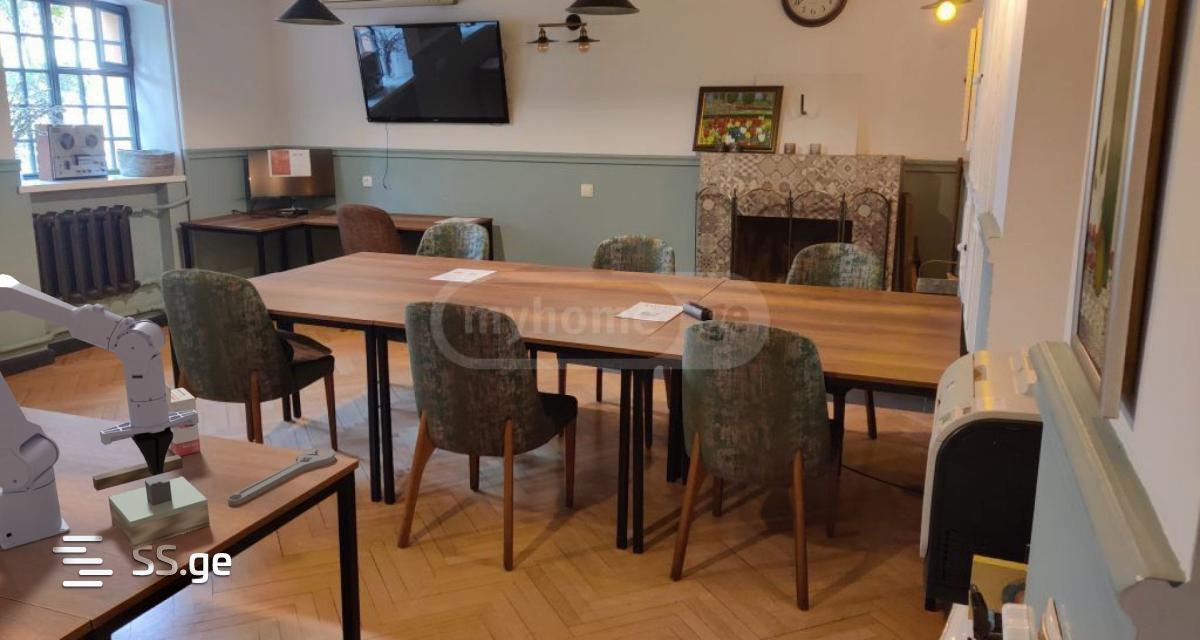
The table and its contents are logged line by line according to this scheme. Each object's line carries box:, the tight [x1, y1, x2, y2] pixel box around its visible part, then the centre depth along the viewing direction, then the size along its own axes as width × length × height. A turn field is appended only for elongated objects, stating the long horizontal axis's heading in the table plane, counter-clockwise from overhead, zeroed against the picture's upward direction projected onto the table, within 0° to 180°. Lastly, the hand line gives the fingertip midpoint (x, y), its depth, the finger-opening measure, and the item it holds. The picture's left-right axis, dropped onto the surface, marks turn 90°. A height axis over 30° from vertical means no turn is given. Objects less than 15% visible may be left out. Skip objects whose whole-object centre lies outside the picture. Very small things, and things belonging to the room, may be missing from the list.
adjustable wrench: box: [227, 448, 336, 506], centre depth 167 cm, size 25×6×2 cm, turn 150°
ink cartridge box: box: [165, 382, 201, 457], centre depth 177 cm, size 9×5×15 cm, turn 42°
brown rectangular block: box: [92, 454, 184, 492], centre depth 153 cm, size 14×2×2 cm, turn 133°
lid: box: [107, 474, 209, 527], centre depth 146 cm, size 12×12×6 cm
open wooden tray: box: [108, 501, 211, 550], centre depth 148 cm, size 12×12×4 cm
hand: (156, 472), depth 145 cm, fingers closed
